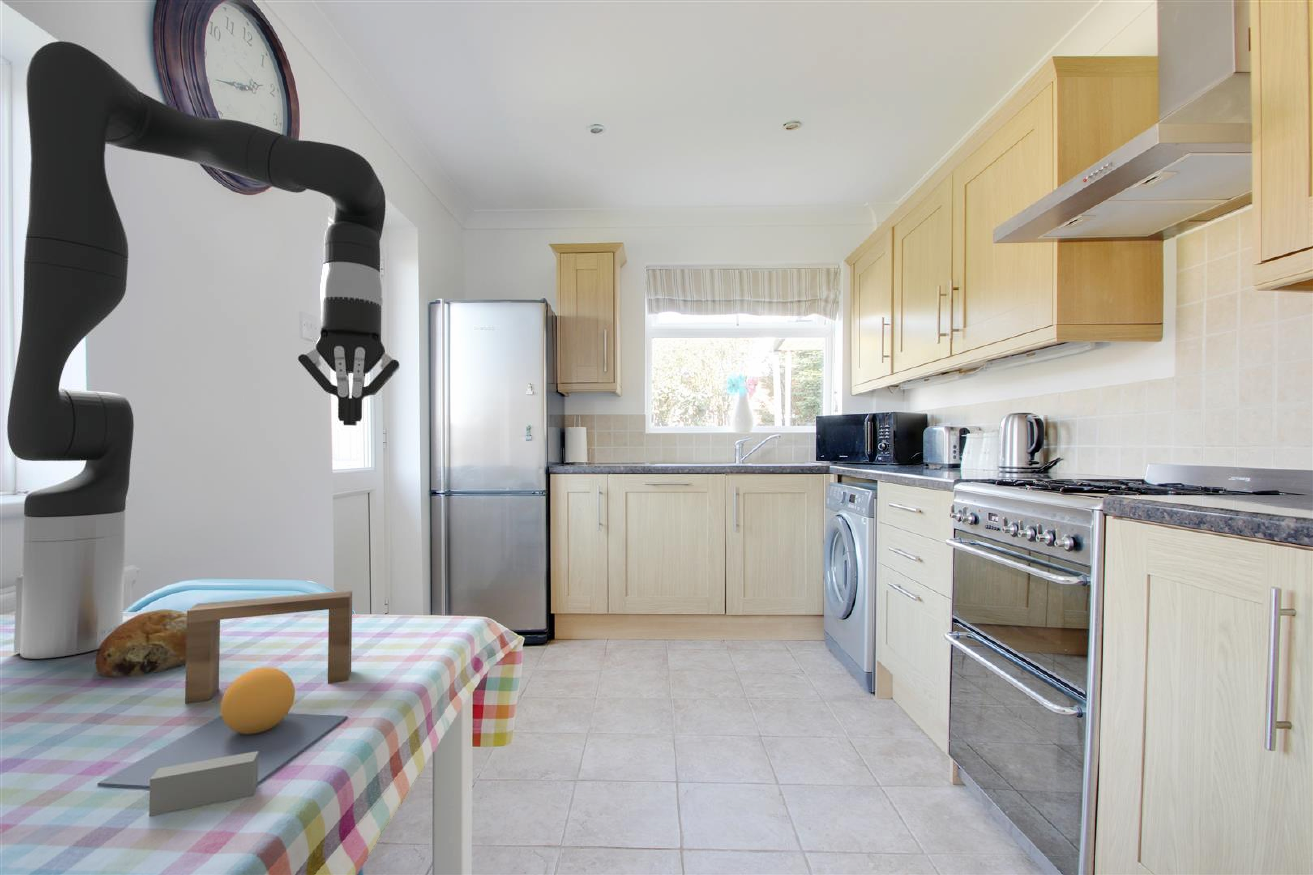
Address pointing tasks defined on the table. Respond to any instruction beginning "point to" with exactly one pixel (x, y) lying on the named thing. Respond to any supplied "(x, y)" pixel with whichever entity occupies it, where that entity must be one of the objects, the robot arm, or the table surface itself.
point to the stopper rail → (203, 783)
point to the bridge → (208, 615)
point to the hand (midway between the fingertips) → (350, 425)
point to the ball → (257, 700)
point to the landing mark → (231, 747)
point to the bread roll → (144, 645)
